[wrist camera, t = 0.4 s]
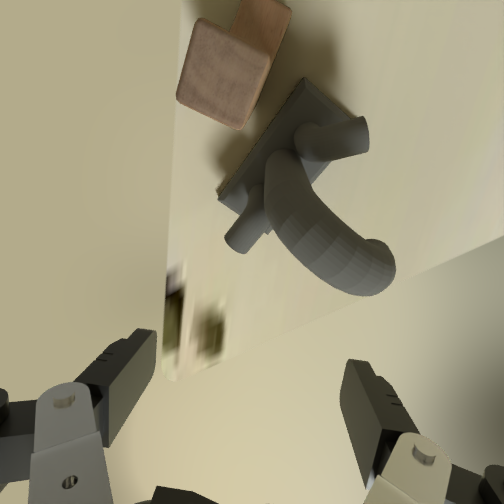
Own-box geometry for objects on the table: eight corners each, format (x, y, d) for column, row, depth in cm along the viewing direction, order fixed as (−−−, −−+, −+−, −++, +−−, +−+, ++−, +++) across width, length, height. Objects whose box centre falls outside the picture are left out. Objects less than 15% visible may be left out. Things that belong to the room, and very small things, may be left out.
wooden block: (249, -5, 29) (226, -103, 13) (290, 18, 30) (313, -50, 14) (217, 91, 33) (172, 100, 18) (254, 109, 34) (241, 133, 18)
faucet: (304, 261, 44) (327, 378, 27) (216, 200, 40) (175, 292, 23) (403, 162, 36) (526, 238, 19) (305, 73, 32) (348, 65, 15)
